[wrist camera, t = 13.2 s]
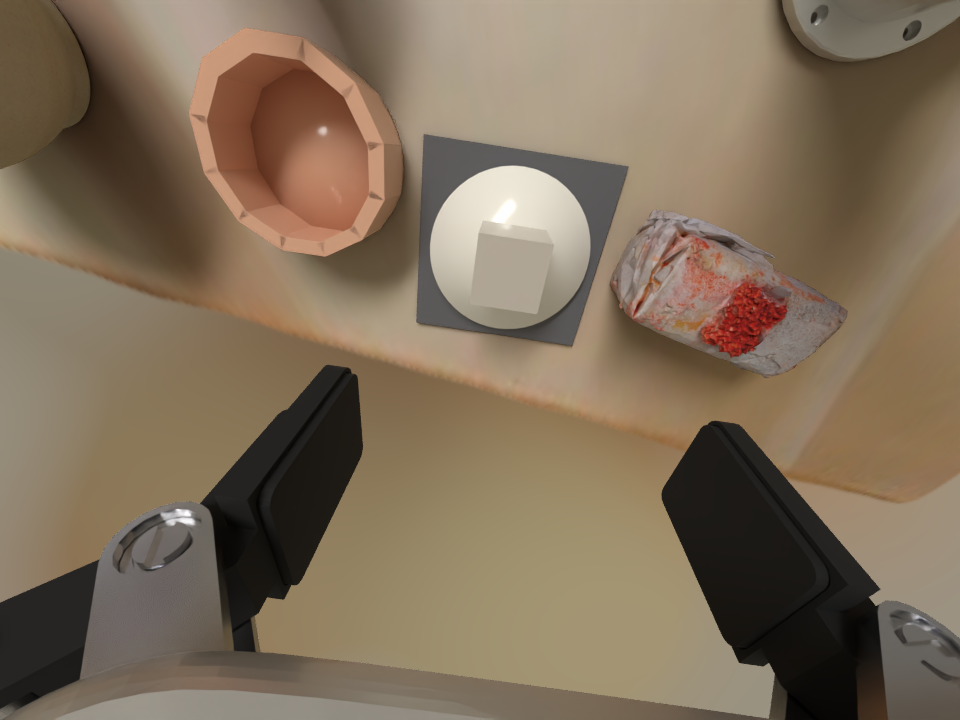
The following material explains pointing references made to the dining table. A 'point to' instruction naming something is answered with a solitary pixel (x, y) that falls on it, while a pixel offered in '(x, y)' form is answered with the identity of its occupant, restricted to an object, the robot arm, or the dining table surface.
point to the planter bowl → (37, 78)
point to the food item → (720, 296)
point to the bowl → (295, 142)
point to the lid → (510, 247)
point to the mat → (463, 160)
